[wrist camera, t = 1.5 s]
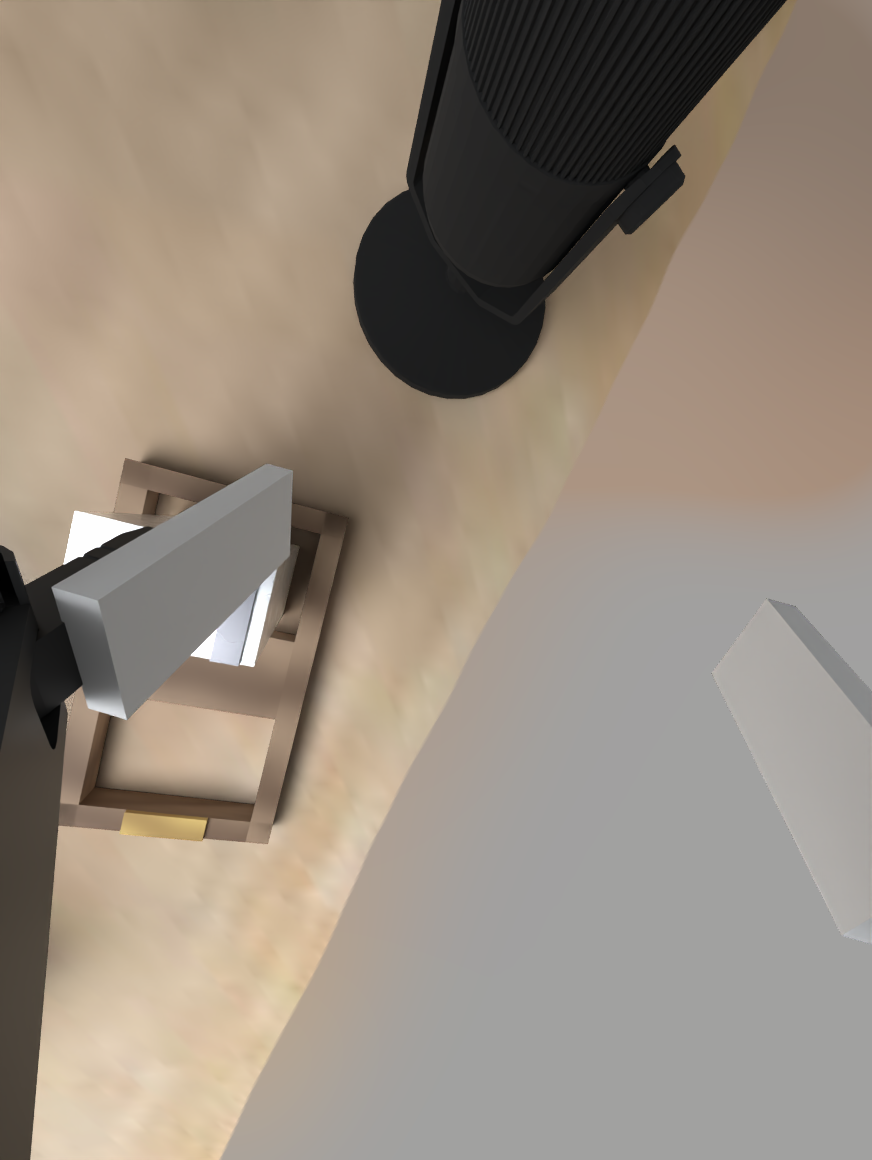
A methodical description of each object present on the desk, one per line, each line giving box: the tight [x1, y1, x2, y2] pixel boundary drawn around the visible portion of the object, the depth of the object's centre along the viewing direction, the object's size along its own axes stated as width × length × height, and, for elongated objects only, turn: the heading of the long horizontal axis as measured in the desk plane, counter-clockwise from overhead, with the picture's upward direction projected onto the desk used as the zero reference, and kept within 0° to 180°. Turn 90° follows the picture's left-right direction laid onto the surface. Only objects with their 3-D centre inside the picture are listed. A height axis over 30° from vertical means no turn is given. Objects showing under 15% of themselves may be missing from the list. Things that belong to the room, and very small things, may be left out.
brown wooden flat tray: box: [58, 458, 349, 844], centre depth 30 cm, size 24×14×2 cm, turn 165°
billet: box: [64, 511, 300, 667], centre depth 25 cm, size 5×8×12 cm, turn 75°
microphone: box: [353, 0, 786, 399], centre depth 20 cm, size 14×14×25 cm
